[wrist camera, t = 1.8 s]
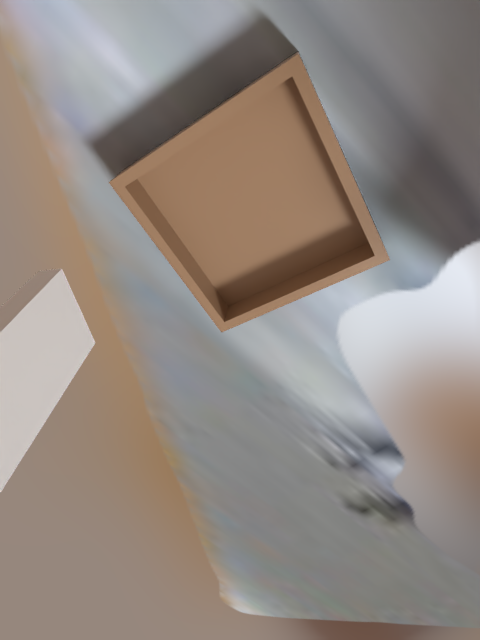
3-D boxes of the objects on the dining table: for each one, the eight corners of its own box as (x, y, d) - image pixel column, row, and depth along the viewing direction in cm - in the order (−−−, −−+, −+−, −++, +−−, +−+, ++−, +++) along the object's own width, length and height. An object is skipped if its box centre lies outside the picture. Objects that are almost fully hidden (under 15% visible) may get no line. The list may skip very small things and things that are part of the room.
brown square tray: (298, 51, 26) (298, 53, 23) (382, 242, 32) (389, 260, 30) (123, 170, 31) (108, 182, 29) (226, 312, 38) (221, 332, 35)
